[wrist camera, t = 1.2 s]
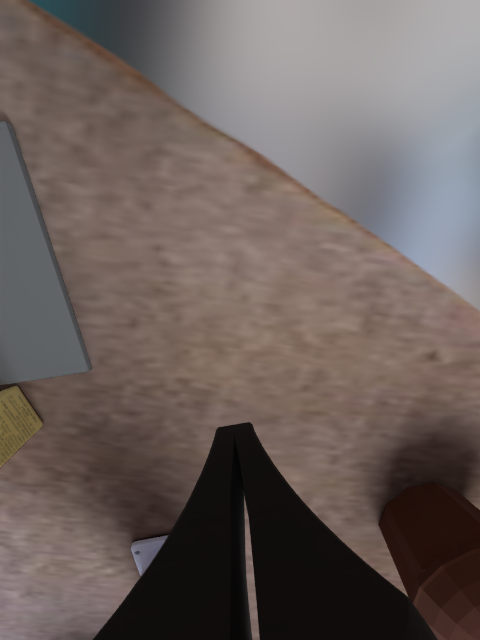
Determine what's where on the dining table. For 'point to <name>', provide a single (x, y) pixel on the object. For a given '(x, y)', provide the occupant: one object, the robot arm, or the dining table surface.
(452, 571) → the muffin
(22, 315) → the mat
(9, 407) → the candy box
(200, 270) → the dining table surface
